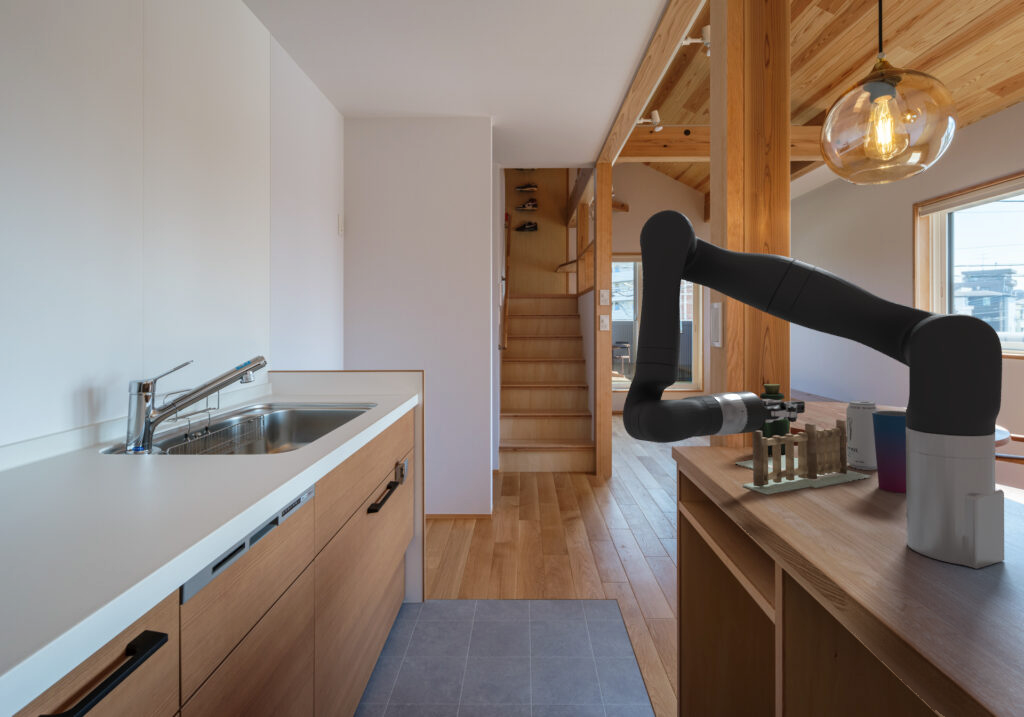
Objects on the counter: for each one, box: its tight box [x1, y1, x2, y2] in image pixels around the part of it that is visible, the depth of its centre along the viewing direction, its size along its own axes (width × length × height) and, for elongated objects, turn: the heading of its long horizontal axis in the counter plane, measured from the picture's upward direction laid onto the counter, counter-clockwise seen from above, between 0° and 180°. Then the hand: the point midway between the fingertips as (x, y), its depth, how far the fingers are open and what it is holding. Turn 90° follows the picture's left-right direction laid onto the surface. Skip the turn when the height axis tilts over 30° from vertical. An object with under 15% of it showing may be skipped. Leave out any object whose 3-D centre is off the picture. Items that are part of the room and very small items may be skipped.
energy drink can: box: [845, 400, 880, 471], centre depth 110 cm, size 6×6×15 cm
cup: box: [872, 410, 906, 494], centre depth 94 cm, size 7×7×15 cm
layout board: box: [735, 455, 871, 495], centre depth 108 cm, size 21×28×1 cm
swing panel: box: [751, 430, 808, 487], centre depth 99 cm, size 14×2×11 cm, turn 109°
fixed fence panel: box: [804, 418, 848, 479], centre depth 103 cm, size 2×11×12 cm, turn 109°
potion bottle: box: [758, 383, 791, 456], centre depth 126 cm, size 8×8×18 cm
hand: (801, 406), depth 92 cm, fingers closed
